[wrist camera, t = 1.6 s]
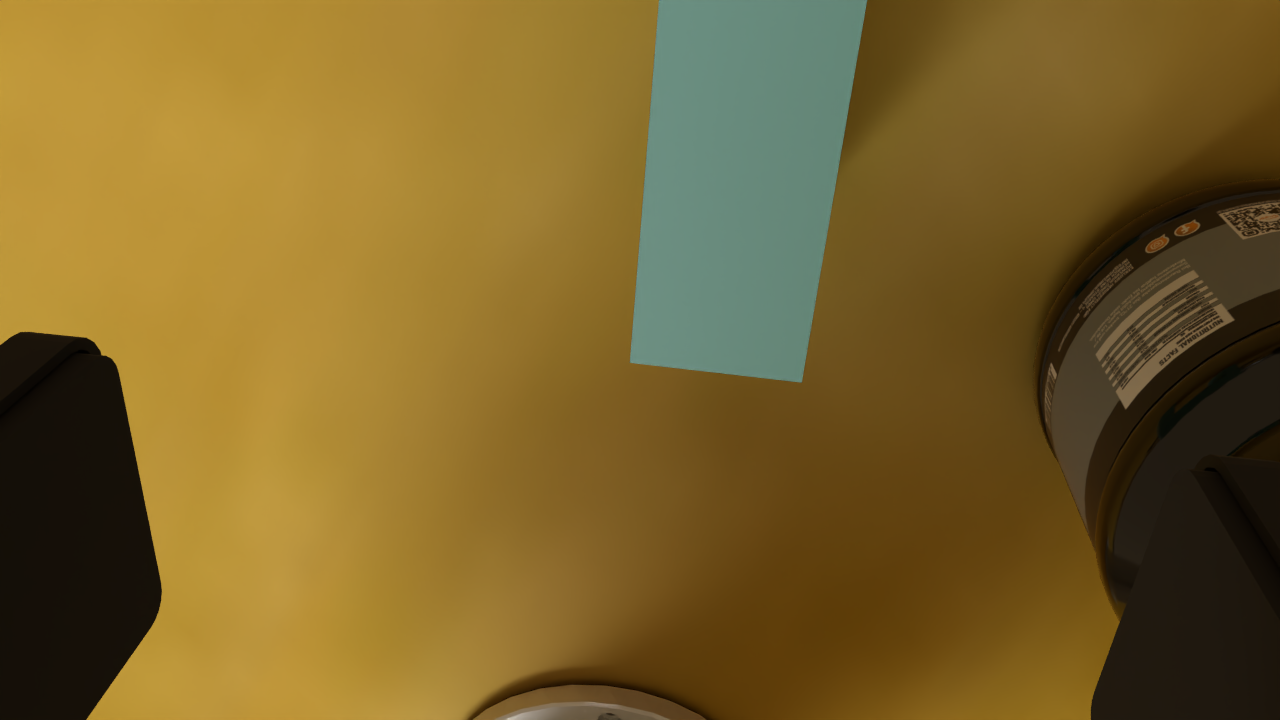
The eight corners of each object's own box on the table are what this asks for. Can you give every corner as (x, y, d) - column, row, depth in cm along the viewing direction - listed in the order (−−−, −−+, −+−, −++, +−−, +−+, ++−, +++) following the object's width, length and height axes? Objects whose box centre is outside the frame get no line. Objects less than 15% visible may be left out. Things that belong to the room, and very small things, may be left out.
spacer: (792, 217, 30) (801, 382, 22) (665, 204, 30) (630, 362, 22) (849, -152, 25) (885, -109, 18) (699, -165, 26) (669, -129, 18)
